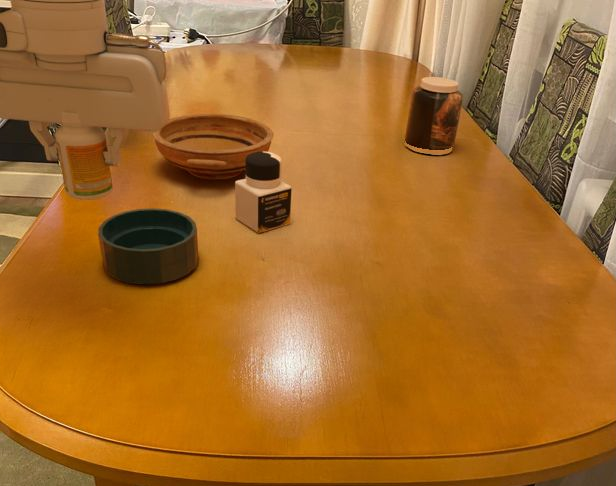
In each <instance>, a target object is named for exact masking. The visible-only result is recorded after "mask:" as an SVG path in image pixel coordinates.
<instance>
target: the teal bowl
mask: <svg viewBox="0 0 616 486" xmlns="http://www.w3.org/2000/svg"><path fill="white" fill-rule="evenodd" d="M97 236H98V237H97V238H98V242H99V249H100V254H101V260H102V265H103V268H104V270H105V272H106V273H107V274H108V275H109V276H111V277H113V278H114V279H116V280H118V281H121V282H125V283H129V284H136V285H137V284H138V285H155V284H156V285H157V284H164V283H168V282H172V281H173V282H174V281H176V280H178V279H181V278H183V277H185V276H187V275H189V274H190V273H191V272H192V271H194V270H195V269H196V268H197V265H198V264H199V261H200V259H199V257H200V256H199V242H198V241H199V240H198V227H197V223H196V222H195V220H193V218H192V217H190V216H189V215H187V214H185V213H182V212H179V211H176V210H171V209H166V208H151V207H150V208H138V209H137V208H136V209H133V210H132V209H131V210H127V211H126V210H125V211H122V212H120V213H117V214H114V215H112V216H109V218H107V219H105V220H103V222H102V223H101V224H100V225H99V227H98V231H97Z"/></svg>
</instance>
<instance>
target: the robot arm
mask: <svg viewBox="0 0 616 486" xmlns="http://www.w3.org/2000/svg"><path fill="white" fill-rule="evenodd" d="M9 1H10V5H11V7H8V8H3V9H1V10H0V119H6V120H16V121H26V122H27V121H28V124H29V129H30V131H31V133H32V134H33V136H34V137H35V138H36V139H37V140H38V142H39V143H40V144H41V146H43V148H44V153H45V157H46V161H49V162H50V161H51V162H60V160H59V155H58V149H57V144H56V138H55V137H54V136H53V134H52V132H50V130H49V129H48V127H49V126H51V123H52V124H61V123H63V122H62V112H72V113H78V114H79V120H80V121H81V122H82V125H84V126H95V127H101V128H106V129H107V128H108V129H109V136H110V137H111V138H115V139H114V141H113V143H112V145H111V146H108V145H107V148H106V149H105V150H104V151H103V155H104V158H105V161H104V162H105V165H106V166H110V167H117V168H118V167H120V166H121V165H122V162H123V157H122V148H123V145H124V143H125V141H126V139H127V137H128V135H129V134H130V132H129V131H130V130H131V131H140V132H141V131H142V132H151V133H152V132H157V131H159V130H160V129H161V128H162V127H163V126H164V125H165V124H166V122H167V121H168V119H170V115H171V113H170V105H169V104H170V103H169V97H168V91H167V86H166V82H165V79H166V77H167V61H166V55H165V52H164V50H163V48H162V47H161V46H160V45H159V44H158V43H157V42H155V41H153V40H151V37H150V36H147V35H143V34H142V35H141V34H140V35H139V34H136V35H131V34H125V33H119V32H110V31H109V26H108V25H109V24H108V19H107V12H106V11H107V9H106V3H105V0H9ZM151 46H152V47H151Z"/></svg>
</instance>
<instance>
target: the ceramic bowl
mask: <svg viewBox="0 0 616 486" xmlns="http://www.w3.org/2000/svg"><path fill="white" fill-rule="evenodd" d="M151 136H152V138H153V139H154V142H155V146H156V148H157V150H158V152H159V153H160V154H161V155H162V157H163V158H164V159H165V160H166V161H167V162H168V163H170V164H171V165H173V166H175V167H177V168H180V169H183V170H185V171H187V172H188V173H189V174H190V175H191V176H193V177H196V178H200V179H204V180H227V179H232V178H235V177H237V176H239V175H240V174H241V173H242V172H243V171H244V170H245V171H246V164H245V159H246V157H247V156H248V155H249V154H251V153H254V152H260V151H265V152H269V151H270V148H271V144H272V140H273V139H274V132H273V130H272V129H271V128H270V127H269V126H268V125H267V124H265V123H263V122H260V121H258V120H255V119H252V118H248V117H244V116H241V115H235V114H225V113H196V114H194V113H193V114H187V115H181V116H176V117H172V118H169V119H168V121H167V122H166V124H165V125H164V126H163V127H162V128H161V129H160V130H159V131H157V132H151Z"/></svg>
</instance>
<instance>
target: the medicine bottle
mask: <svg viewBox="0 0 616 486" xmlns="http://www.w3.org/2000/svg"><path fill="white" fill-rule="evenodd" d="M245 164H246V169H245V178H243V179H238V180H236V181H235V182H234V198H235V202H234V203H235V205H234V207H235V208H234V209H235V219H236V220H237V221H239V222H240V223H241V224H243V225H245V226H247V227H248V228H249V229H251V230H252V231H254V232H255V233H257V234H261V233H265V232H267V231H271V230H275V229H277V228H281V227H284V226H285V227H286V226H288V225H290V224H291V210H292V209H291V208H292V186H291V185H290V184H288V183H287V182H284V181H283V180H282V158H281V156H279V155H278V154H276V153H274V152H271V151H268V152H265V151H260V152H254V153H251V154H249V155H248V156H247V157H246V159H245Z"/></svg>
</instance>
